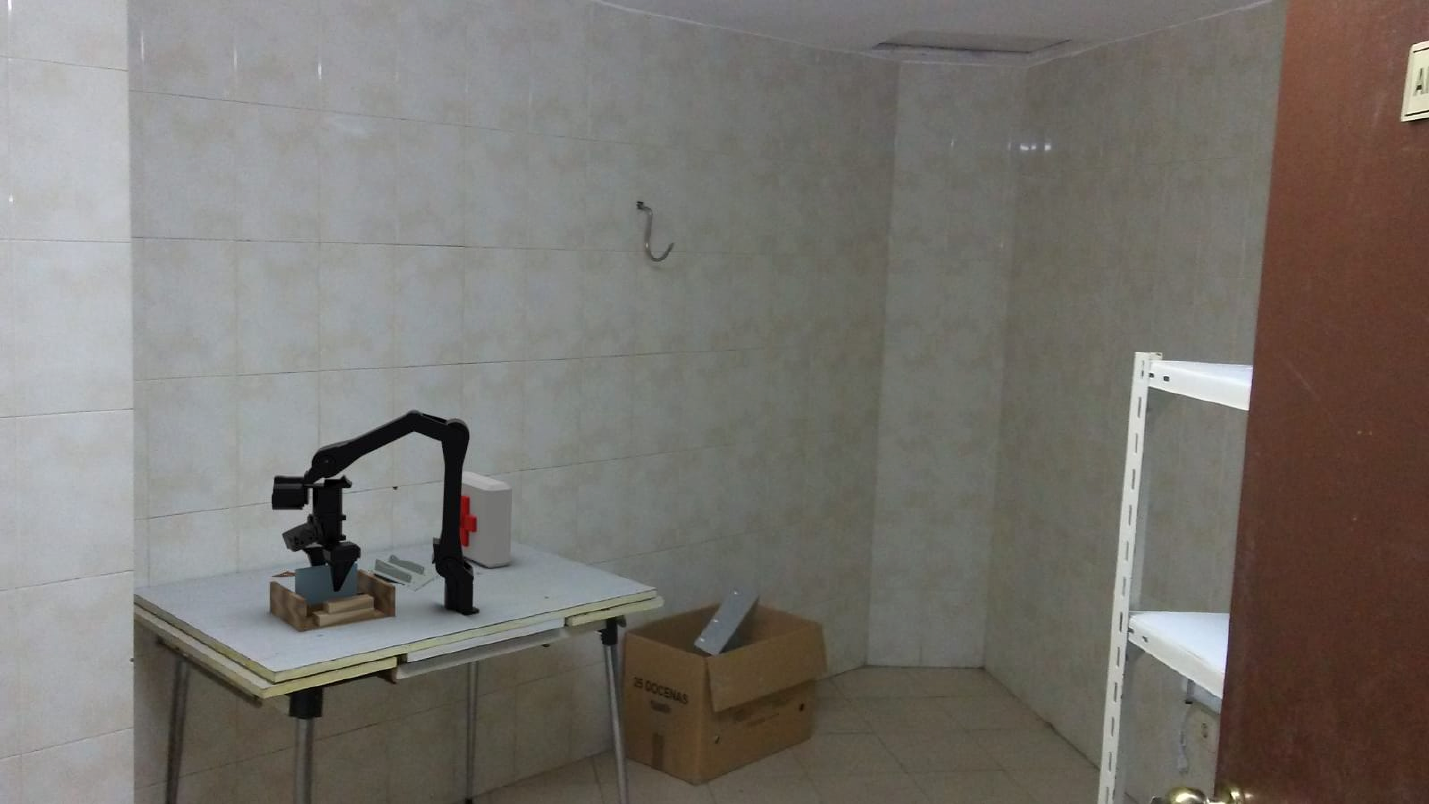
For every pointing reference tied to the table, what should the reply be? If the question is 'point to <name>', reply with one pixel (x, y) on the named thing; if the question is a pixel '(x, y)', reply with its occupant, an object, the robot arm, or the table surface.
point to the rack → (301, 614)
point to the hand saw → (285, 574)
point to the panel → (323, 584)
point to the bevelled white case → (485, 520)
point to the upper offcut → (348, 604)
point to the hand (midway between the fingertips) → (327, 586)
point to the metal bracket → (403, 572)
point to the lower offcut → (341, 617)
